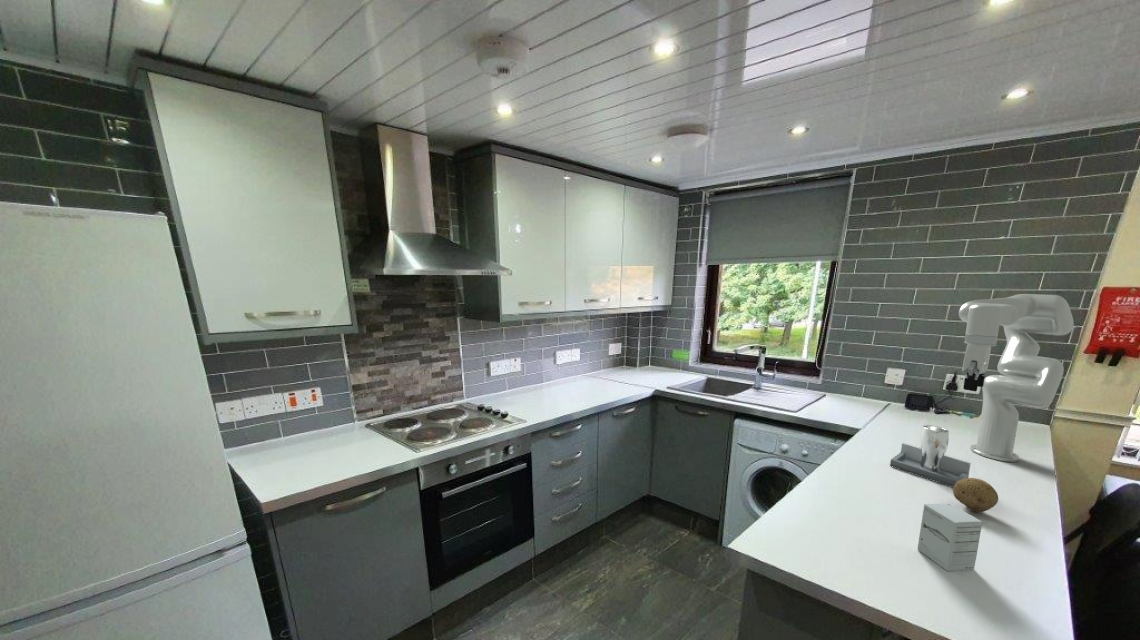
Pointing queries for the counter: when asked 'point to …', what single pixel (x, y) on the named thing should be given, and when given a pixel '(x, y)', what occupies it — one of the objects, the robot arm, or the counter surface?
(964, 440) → the counter surface
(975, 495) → the natural sponge
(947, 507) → the supplement box
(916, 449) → the guarded tray
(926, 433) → the beer glass
